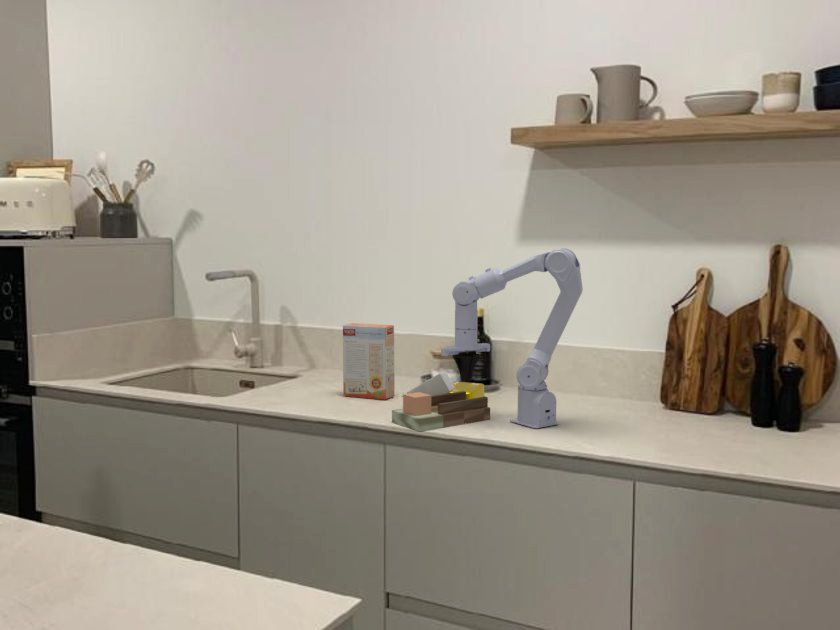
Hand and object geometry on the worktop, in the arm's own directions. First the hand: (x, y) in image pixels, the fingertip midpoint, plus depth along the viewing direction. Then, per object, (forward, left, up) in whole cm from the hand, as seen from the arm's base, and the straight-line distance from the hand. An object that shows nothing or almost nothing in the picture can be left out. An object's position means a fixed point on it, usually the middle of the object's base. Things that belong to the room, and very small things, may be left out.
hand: (465, 381), depth 213 cm
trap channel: (+1, +8, -9) cm, 12 cm away
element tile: (+19, -11, -10) cm, 24 cm away
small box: (+16, +5, -7) cm, 18 cm away
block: (+1, +15, -6) cm, 16 cm away
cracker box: (+37, +6, -10) cm, 39 cm away
